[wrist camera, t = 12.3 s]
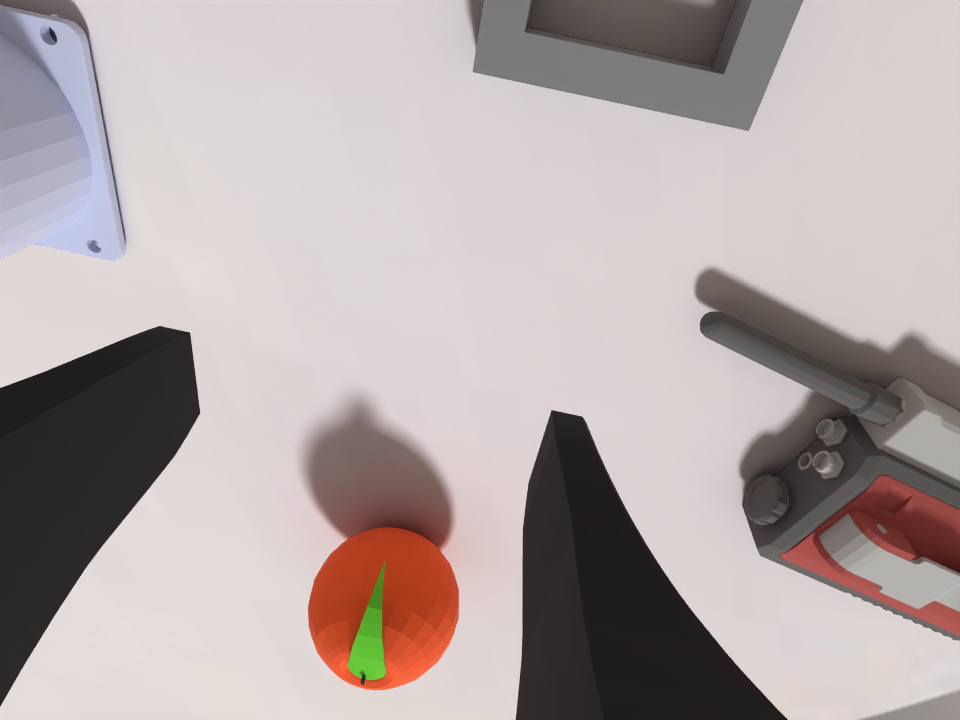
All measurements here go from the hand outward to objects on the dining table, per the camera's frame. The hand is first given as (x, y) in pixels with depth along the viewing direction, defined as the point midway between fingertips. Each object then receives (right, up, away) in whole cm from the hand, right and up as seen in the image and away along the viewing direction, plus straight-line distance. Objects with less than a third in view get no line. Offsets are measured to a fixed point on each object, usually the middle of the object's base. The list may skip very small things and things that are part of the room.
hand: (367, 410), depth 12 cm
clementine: (-2, -8, +18) cm, 20 cm away
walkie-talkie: (+18, -3, +13) cm, 22 cm away
